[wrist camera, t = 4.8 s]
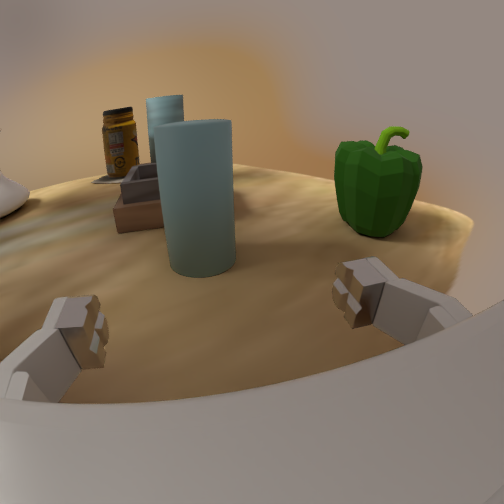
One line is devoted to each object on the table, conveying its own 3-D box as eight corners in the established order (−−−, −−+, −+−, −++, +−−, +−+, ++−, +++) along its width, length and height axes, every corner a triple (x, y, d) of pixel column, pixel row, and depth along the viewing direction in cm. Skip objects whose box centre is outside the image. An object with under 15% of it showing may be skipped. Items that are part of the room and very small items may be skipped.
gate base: (219, 220, 28) (213, 88, 22) (117, 233, 26) (99, 102, 20) (202, 172, 45) (199, 94, 39) (140, 179, 43) (133, 101, 37)
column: (216, 284, 19) (206, 126, 14) (157, 268, 21) (137, 130, 16) (246, 249, 23) (243, 119, 19) (192, 239, 25) (182, 120, 20)
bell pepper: (322, 237, 25) (331, 120, 20) (334, 205, 32) (340, 116, 27) (415, 254, 23) (437, 137, 18) (406, 218, 29) (420, 129, 24)
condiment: (149, 169, 50) (144, 104, 44) (123, 183, 42) (115, 108, 37) (118, 170, 51) (112, 109, 45) (91, 184, 44) (81, 115, 38)
